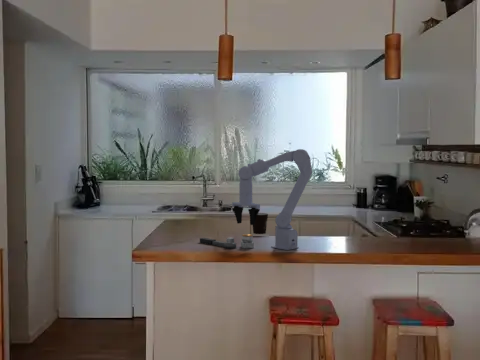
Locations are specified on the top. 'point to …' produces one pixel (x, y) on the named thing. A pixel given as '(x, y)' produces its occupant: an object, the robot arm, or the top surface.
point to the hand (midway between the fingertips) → (245, 224)
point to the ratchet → (229, 244)
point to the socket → (247, 241)
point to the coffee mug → (260, 223)
